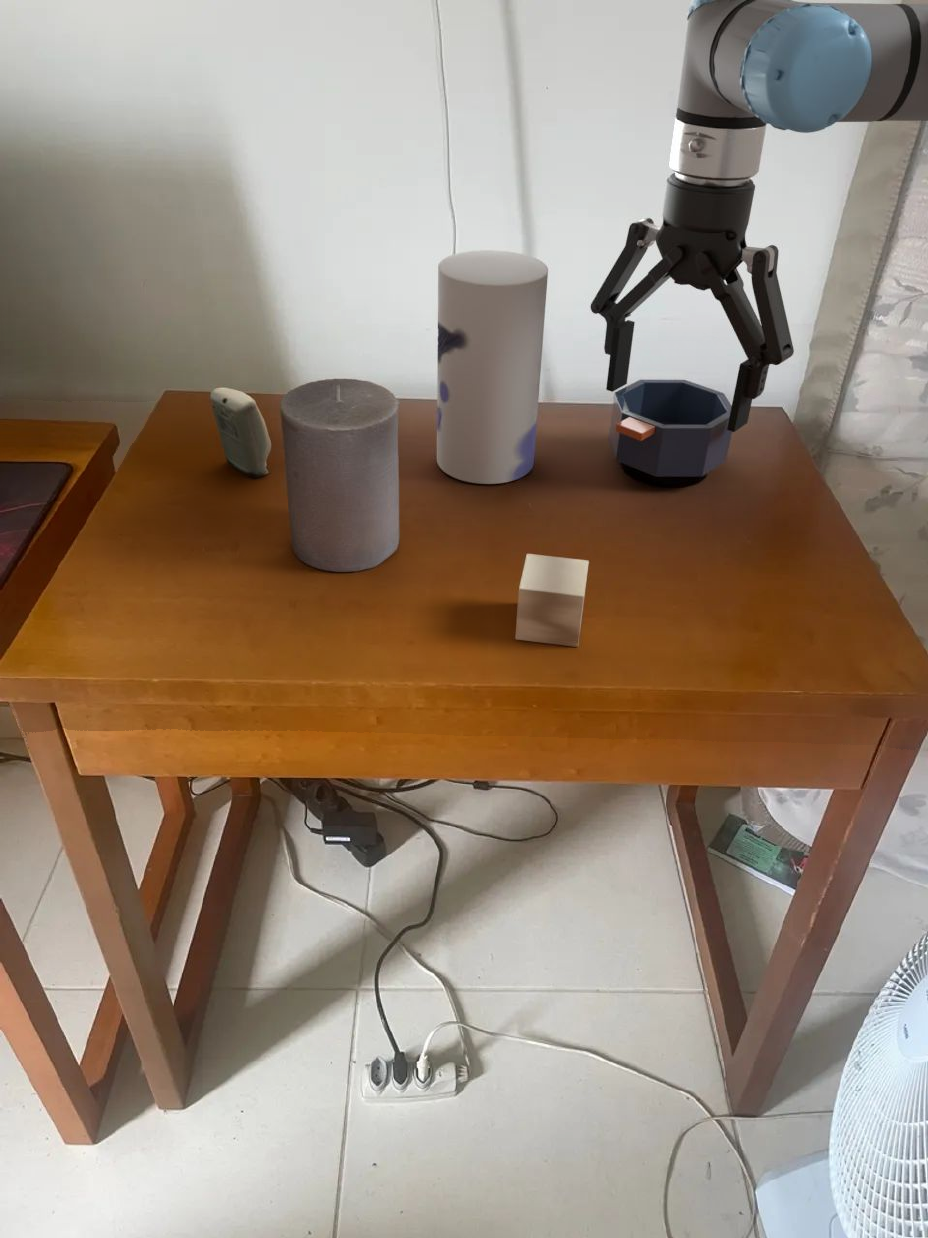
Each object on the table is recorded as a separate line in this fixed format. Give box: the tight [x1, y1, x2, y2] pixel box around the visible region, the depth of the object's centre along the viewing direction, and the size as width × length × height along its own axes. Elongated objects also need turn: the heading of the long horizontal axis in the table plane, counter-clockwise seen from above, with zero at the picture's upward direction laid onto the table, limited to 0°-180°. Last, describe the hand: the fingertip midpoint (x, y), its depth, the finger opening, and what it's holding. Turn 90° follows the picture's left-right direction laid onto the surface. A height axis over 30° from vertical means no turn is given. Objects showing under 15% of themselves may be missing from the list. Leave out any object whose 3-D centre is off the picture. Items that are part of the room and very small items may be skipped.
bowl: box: [608, 379, 733, 477], centre depth 98 cm, size 13×11×5 cm
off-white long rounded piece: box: [209, 387, 272, 479], centre depth 97 cm, size 6×5×8 cm
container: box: [436, 249, 549, 485], centre depth 95 cm, size 10×10×20 cm
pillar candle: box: [279, 378, 401, 573], centre depth 84 cm, size 10×10×15 cm
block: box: [514, 553, 590, 648], centre depth 78 cm, size 5×5×5 cm
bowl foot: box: [619, 462, 709, 489], centre depth 101 cm, size 9×9×2 cm
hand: (674, 406), depth 97 cm, fingers open, 13 cm apart
